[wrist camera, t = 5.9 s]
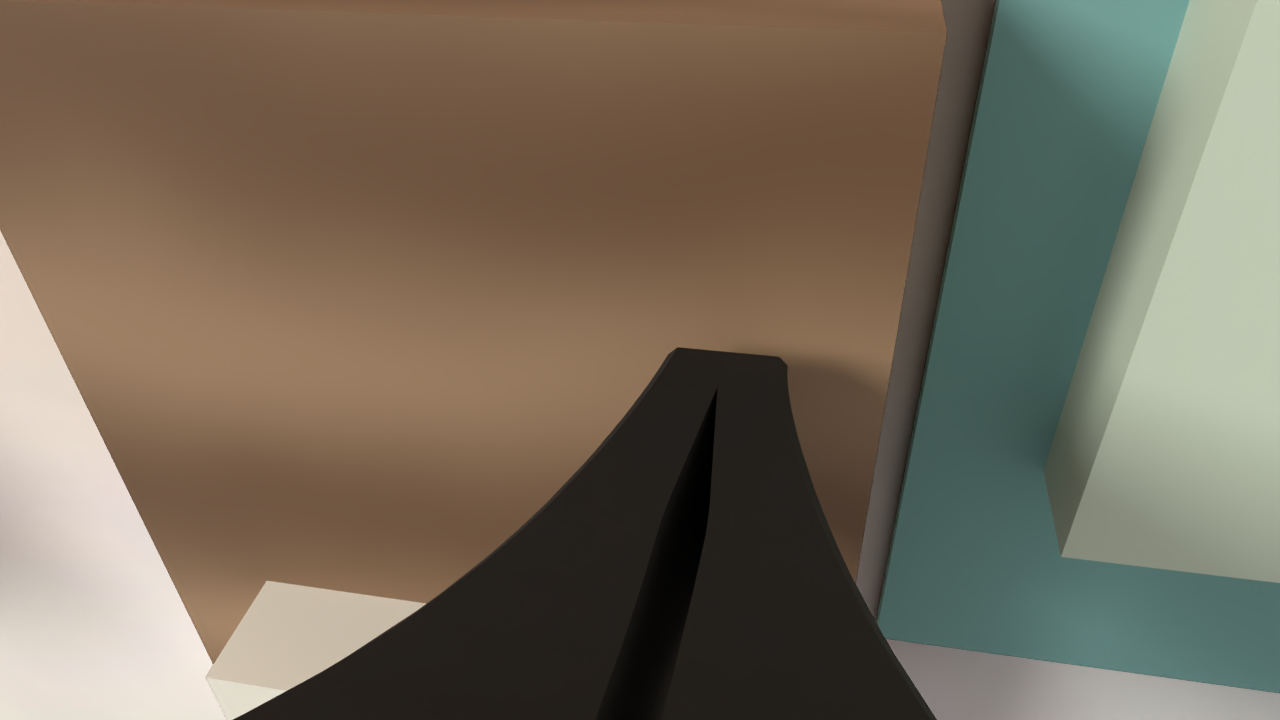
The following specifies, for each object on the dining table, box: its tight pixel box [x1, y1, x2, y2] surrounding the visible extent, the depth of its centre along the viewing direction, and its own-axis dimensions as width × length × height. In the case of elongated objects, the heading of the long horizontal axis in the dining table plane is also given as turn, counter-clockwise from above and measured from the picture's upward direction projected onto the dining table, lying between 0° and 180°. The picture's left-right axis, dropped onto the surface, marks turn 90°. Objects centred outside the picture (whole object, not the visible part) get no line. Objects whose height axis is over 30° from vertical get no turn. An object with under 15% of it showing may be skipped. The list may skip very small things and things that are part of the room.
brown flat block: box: [0, 0, 947, 664], centre depth 17 cm, size 16×12×4 cm
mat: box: [876, 0, 1280, 693], centre depth 15 cm, size 14×11×1 cm
